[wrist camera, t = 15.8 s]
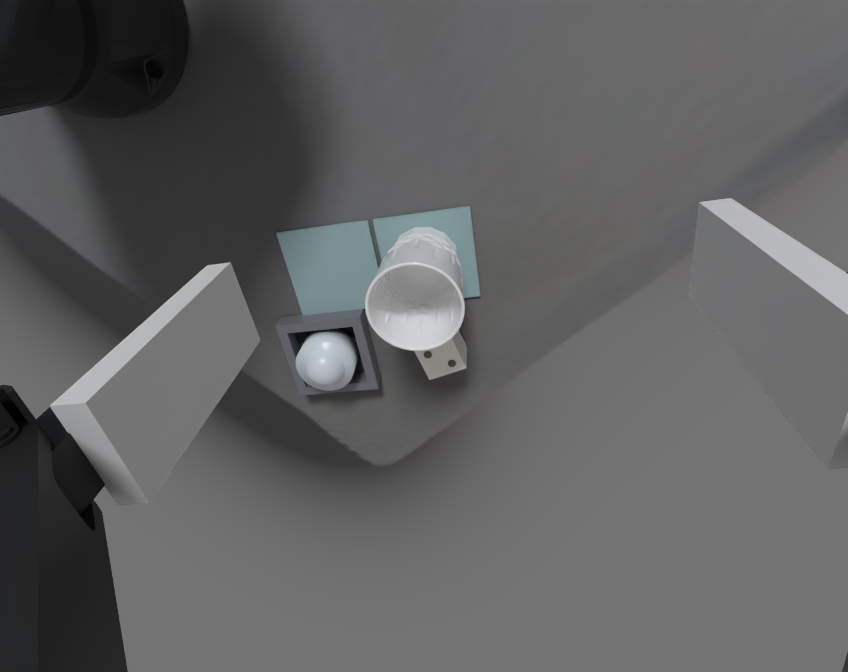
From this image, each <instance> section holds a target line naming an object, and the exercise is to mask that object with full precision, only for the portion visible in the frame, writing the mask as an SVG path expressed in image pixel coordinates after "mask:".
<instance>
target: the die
mask: <svg viewBox="0 0 848 672" xmlns="http://www.w3.org/2000/svg"><path fill="white" fill-rule="evenodd" d="M414 352H415V354H416V356H417V357H418V359H419V361H420V363H421V365H422V367H423V369H424V370H425V372H426V374H427V376H428V378H429V380H431V379H435V378H438V377H441V376H444V375H447V374H450V373H453V372H457V371H460V370H463V369H466V366H467V346H466V344H465V342H464V340H463V338H462V336H461V333H460V331H459V330H458V332H457V333H456V334H455V335H454V336H453V337H452V338H451V339H450V340H449V341H448V342H446V343H445V344H443V345H441V346H439V347H437V348H434V349H430V350H425V351H414Z"/></svg>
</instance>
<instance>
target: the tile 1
mask: <svg viewBox="0 0 848 672" xmlns="http://www.w3.org/2000/svg"><path fill="white" fill-rule="evenodd" d="M276 235H277V238H278V241H279V244H280V247H281V250H282V253H283V256H284V259H285V262H286V265H287V268H288V271H289V275H290V278H291V281H292V284H293V287H294V290H295V293H296V296H297V299H298V302H299V305H300V308H301V311H302V314H303V315H312V314H321V313H330V312H339V311H349V310H358V309H365V299H366V294H367V291H368V288H369V286H370V284H371V283H372V281H373V279H374V277H375V275H376V273H377V271H378V269H379V266H378V262H377V258H376V253H375V249H374V244H373V240H372V235H371V231H370V227H369V222H368V220H363V221H356V222H349V223H341V224H334V225H327V226H319V227H312V228H305V229H297V230H290V231H283V232H277V233H276Z"/></svg>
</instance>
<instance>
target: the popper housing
mask: <svg viewBox="0 0 848 672" xmlns="http://www.w3.org/2000/svg"><path fill="white" fill-rule="evenodd" d="M344 327H353V330H354V334H355V338H356V341H357V345H358V349H359V352H360V356H361V360H362V363H363V367H364V371H365V372H361V373H353V376H352V379H351V380H350V382H349V383H348V384H347V385H346V386H344V387H343V388H340V389H337V390H332V391H326V390H320V389H317V388H314V387H312V386H310V385H309V384H307V383H306V382H305V381H304V380H303V379H302V378H301V377H300V375H299V373H298V371H297V369H296V357H297V355H298V353H299V351H300V349H301V346H300V343H299V340H298V337H297V334H296V332H306V331H316V330H325V329H335V328H344ZM275 328H276V330H277V333H278V336H279V339H280V341H281V344H282V347H283V350H284V353H285V355H286V358H287V361H288V364H289V366H290V369H291V372H292V375H293V377H294V380H295V383H296V386H297V388H298V391H299V394H300V396H301V395H313V394H325V393H337V392H349V391H361V390H373V389H379V386H380V382H381V375H380V371H379V367H378V363H377V359H376V355H375V351H374V347H373V343H372V339H371V335H370V331H369V327H368V323H367V319H366V315H365V311H364V309H358V310H349V311H339V312H330V313H321V314H312V315H303V314H300V315H291V316H282V317H281V318H280V319H279V321H278V322H277V324H276V325H275Z"/></svg>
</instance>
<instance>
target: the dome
mask: <svg viewBox="0 0 848 672" xmlns="http://www.w3.org/2000/svg"><path fill="white" fill-rule="evenodd" d="M358 358H359V350H358V347H357V344H356V342H355V341H354V340H353V339H352V337H351V336H349V335H348V334H347V333H345V332H344V331H342V330H339V329H336V328H335V329H325V330H316V331H313V332H311V333H310V334H309V335H308V336H307V338H306V340H305V341H304V343H303V345H302V347H301V349H300V351H299V353H298V355H297V357H296V369H297V371H298V373H299V375H300V377H301V378H302V379H303V380H304V381H305V382H306V383H307V384H309V385H310V386H312V387H314V388H317V389H320V390H326V391H332V390H337V389H340V388H343V387H344V386H346V385H347V384H348V383H349V382H350V380H351V379H352V376H353V373H354V370H355V368H356V365H357V362H358Z"/></svg>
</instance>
